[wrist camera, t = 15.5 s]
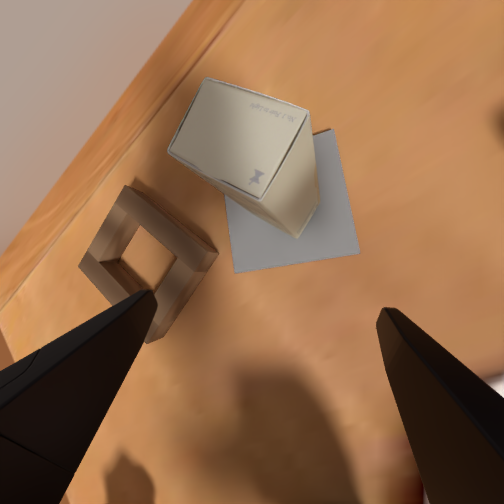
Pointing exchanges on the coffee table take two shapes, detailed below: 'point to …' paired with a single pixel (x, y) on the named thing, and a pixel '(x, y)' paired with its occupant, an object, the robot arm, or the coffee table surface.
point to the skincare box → (252, 152)
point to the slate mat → (316, 231)
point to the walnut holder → (166, 232)
